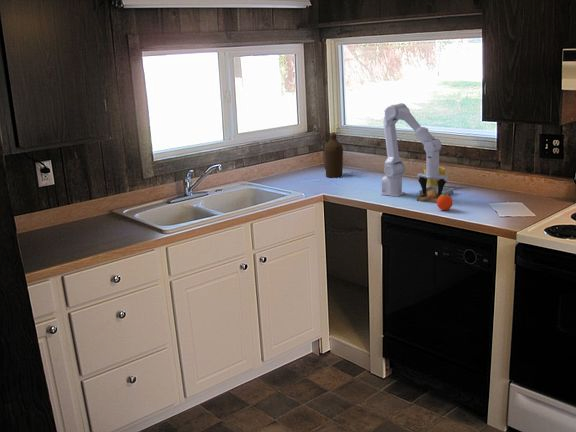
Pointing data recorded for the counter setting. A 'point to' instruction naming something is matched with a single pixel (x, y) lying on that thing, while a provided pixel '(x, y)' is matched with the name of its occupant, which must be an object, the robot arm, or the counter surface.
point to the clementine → (444, 202)
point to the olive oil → (333, 157)
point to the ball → (432, 193)
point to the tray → (427, 198)
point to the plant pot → (434, 181)
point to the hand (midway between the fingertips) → (432, 194)
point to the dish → (444, 192)
